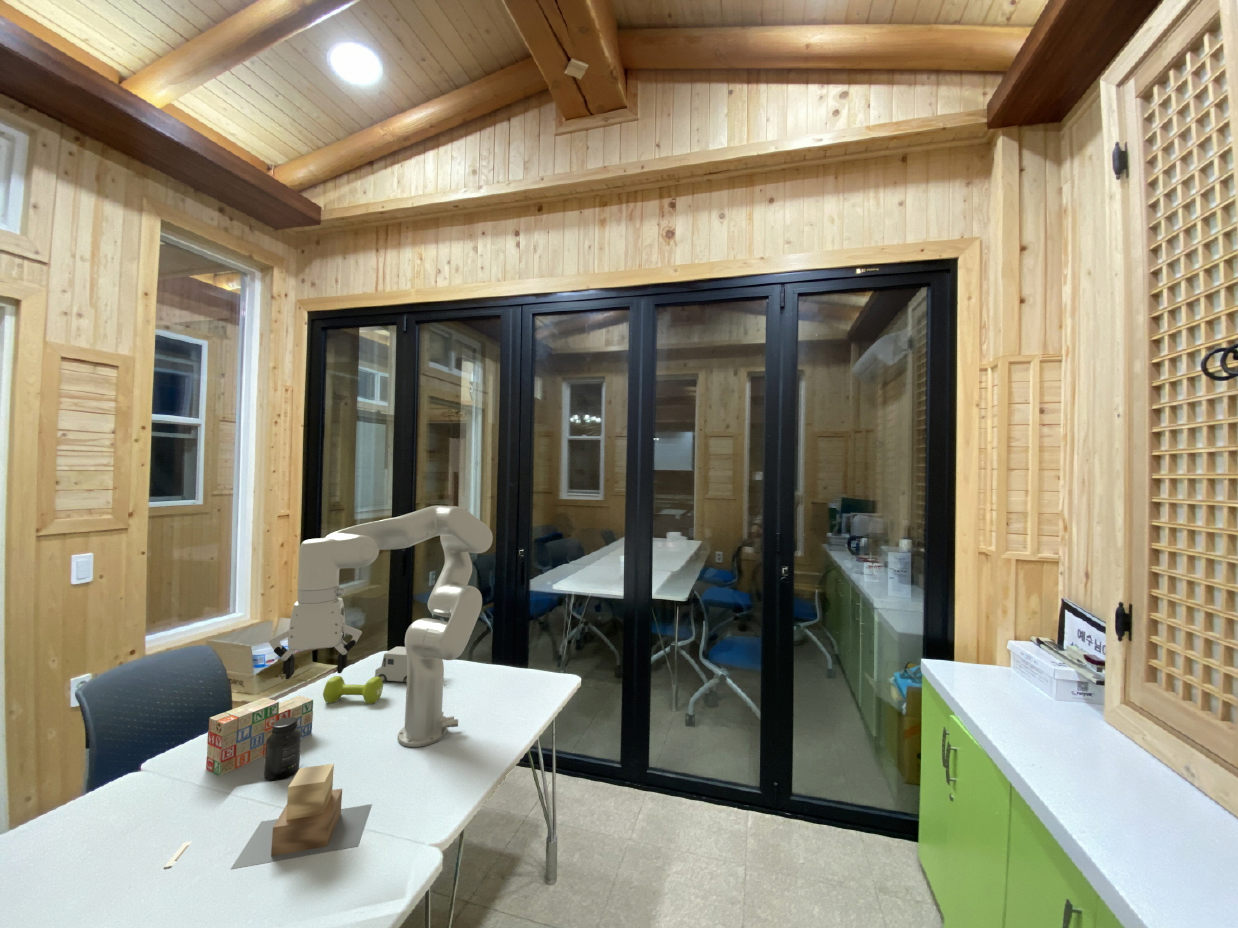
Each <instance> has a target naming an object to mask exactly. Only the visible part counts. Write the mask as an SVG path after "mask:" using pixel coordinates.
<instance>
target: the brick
mask: <svg viewBox="0 0 1238 928" xmlns="http://www.w3.org/2000/svg"><path fill="white" fill-rule="evenodd" d="M342 799H343V788H338V789H337V788H336V789H332V796H331V798H330V800H329V802H328V804H327V806H326V808H325V811H324V813H323V814H321V815H315V816H309V817H303V818H296V819H290V820H286V814H287V804H285V806H284V808H283V810H282V811H281V813H280V815H279V816H278V818H277V819H278V820H277V821H276V823H275V825H274V826H273V833H272V848H271V856H274V855H280V854H286V853H291V852H297V851H303V850H308V849H314V848H320V847H325V846H328V843H329V841H330V838H331V836H332V834H333V831H334V829H335V826H336V824H337V822H338V819H339V817H340V814H341V809H342V803H343V802H342V801H343V800H342Z"/></svg>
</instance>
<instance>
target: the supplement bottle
mask: <svg viewBox="0 0 1238 928" xmlns="http://www.w3.org/2000/svg"><path fill="white" fill-rule="evenodd" d="M301 743H302V738H301V732H300V730H299V729H297V718H295V717H287V718H283V719H280V720H278V721H276V722H274V723H273V726H272V734H271V735H270V736H269V737H268V739H267V741H266V751H265V755H264V769H263V778H264V780H265V781H267V782H270V783H271V782H279V781H284V780H286V779H289V778H291V777H292V776H295V775H296V774H297V772H298V770H299V769H300V763H301V762H300V760H301V748H302V747H301V746H302V745H301Z"/></svg>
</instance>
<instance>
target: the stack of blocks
mask: <svg viewBox="0 0 1238 928" xmlns="http://www.w3.org/2000/svg"><path fill="white" fill-rule="evenodd" d="M287 717H295V718H297V729H299V730H300V732H301V739H303V738H305V737H306V736H309V735H311V734H312V733H313V732H312V731H313V719H314V718H313V717H314V699H312V698H310V697H305V696H303V695H297V696H294V697H292V698H289V699H287V700H286V699H285V700H284V701H281V702H280V701H277V700H274V699H270V698H269V697H262V698H259V699H257V700H254V701H252V702H249V703H246V704H243V705H240V706H238V707H235V708H232V709H230V710H227V711H225V712H222V713H219V714H216V715H214V716H210V717H209V719H208V720H209V721H208V722H209V723H208V730H207V742H206V744H207V746H206V747H207V750H206V752H207V753H206V763H205V769H206V770H207V771H209V772H211V773H214V774H215V775H218V776H219V777H220V776H222V775H225V774H227V773H229V772H232V771H233V770H236V769H238V768H240V767H243V766H245V765H247V764H249V763H251V762H254V761H255V760H258V759H260V758H262V757H265V751H266V741H267V739H268V737H269V736H270V735H271V734H272V726H273V723H274V722H276V721H278V720H280V719H283V718H287Z"/></svg>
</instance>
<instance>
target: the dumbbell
mask: <svg viewBox="0 0 1238 928" xmlns="http://www.w3.org/2000/svg"><path fill="white" fill-rule="evenodd" d="M383 683H384V682H382V679H381V677H375V676H373V677H371V678H370V679H368V680H367V681H366V683H365V684H346V683H345V681H344V679H343V677H342V676H339V675H334V676H332V677H331V678H329V679H328V680H327V681H326V683H325V685H324V688H323V692H322V697H323V700H324V702H325V703H326V704H333V703H335V702H337V701H338V700H340V699H341V698H342V696H363V700H364V703H366V704H368V705H370V704H371V705H373V704H375V703H376V702H378V700H380V698H381V695H382V692H383V689H384V684H383Z"/></svg>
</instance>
